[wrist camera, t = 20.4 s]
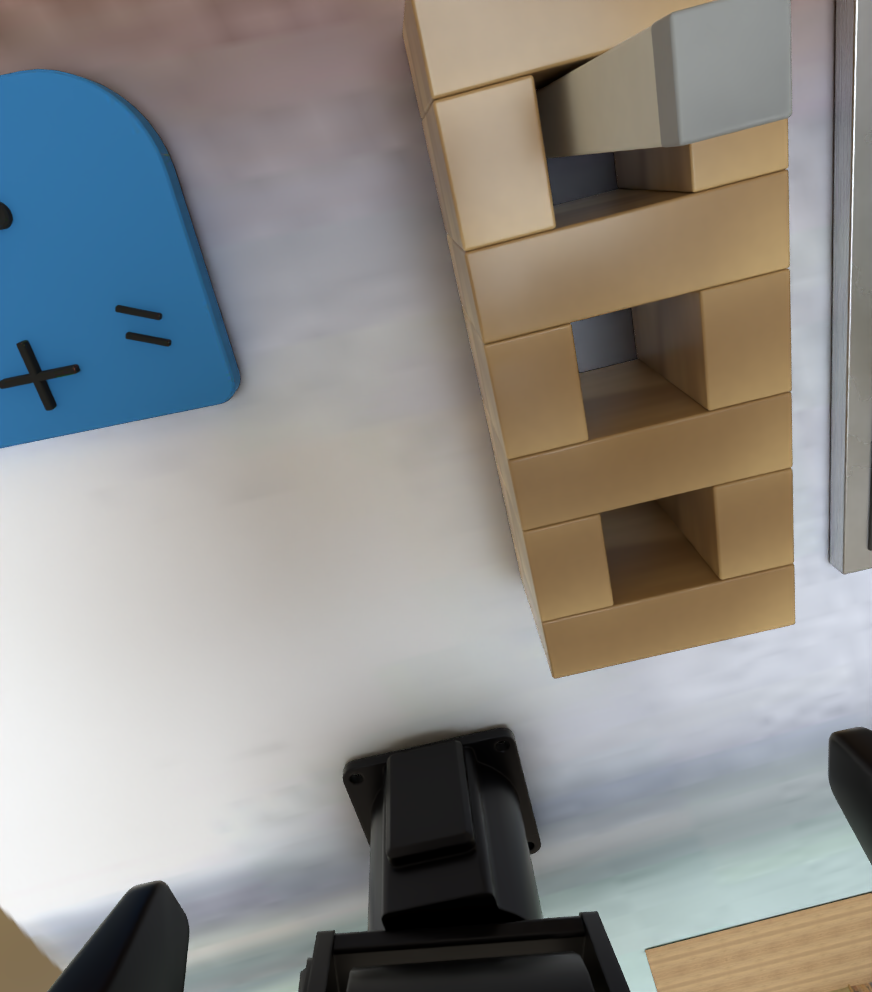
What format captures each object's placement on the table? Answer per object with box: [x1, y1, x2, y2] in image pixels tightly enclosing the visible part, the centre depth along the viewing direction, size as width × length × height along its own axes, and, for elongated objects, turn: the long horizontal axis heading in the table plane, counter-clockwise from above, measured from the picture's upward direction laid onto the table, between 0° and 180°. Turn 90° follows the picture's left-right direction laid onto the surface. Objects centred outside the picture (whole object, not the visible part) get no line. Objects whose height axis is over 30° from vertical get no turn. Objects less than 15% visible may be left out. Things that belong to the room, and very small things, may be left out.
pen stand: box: [403, 0, 795, 679], centre depth 17 cm, size 16×6×5 cm, turn 13°
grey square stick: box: [536, 0, 792, 158], centre depth 13 cm, size 1×1×10 cm
